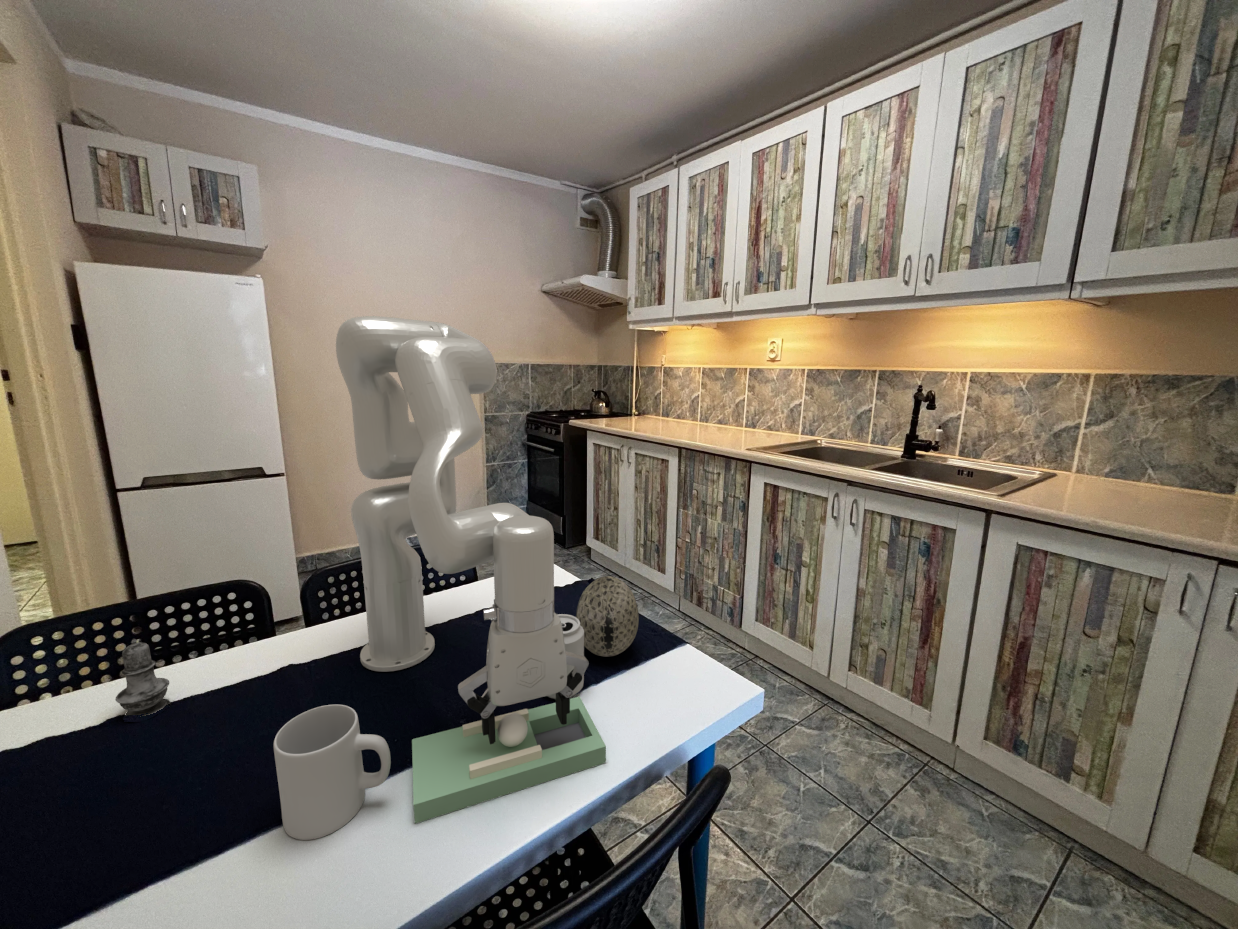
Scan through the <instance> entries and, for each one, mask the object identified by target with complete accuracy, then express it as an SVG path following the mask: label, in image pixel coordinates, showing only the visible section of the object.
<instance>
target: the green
mask: <svg viewBox="0 0 1238 929" xmlns="http://www.w3.org/2000/svg"><path fill="white" fill-rule="evenodd" d="M511 713H517V714H520V715H521V716H523V717H524V718H525V720H526V722H527V726H528V731H527V735H526V737H525V739H524V740H523V742H522V743H520V744H519V745H517V746H514V747H508V746H505V745H503V744H502V743H501V742H500V740H499V738H498V734H497V729H498V725H499V723H500V721H501V720H502V719H503V718H504V717H505V716H506V715H508V714H511ZM495 739H496V742H494V744H490V742H489V737H488V735H484V736H483V731H482V719H479V720H477V721H473V722H469V723H465V724H462V726H458V727H455V728H450V729H447V730H442V731H439V732H436V733H432V734H428V735H424V736H420V737H416V738H413V739H411V750H412V751H411V752H412V753H411V755H412V757H411V758H412V761H411V762H412V795H413V796H412V797H413V817H414V825H415V824H418V823H422V822H425V821H428V820H431V819H435V818H438V817H441V816H444V815H446V814H450V813H453V812H456V811H459V810H463V809H466V808H468V807H471V806H474V805H478V804H481V803H485V802H487V801H491V800H494V799H497V798H499V797H503V796H507V795H509V794H513V793H515V792H519V791H521V790H525V789H527V788H531V787H534V786H538V785H541V784H544V783H546V782H551V781H553V780H556V779H560V778H563V777H565V776H566V777H567V776H569V775H572V774H575V773H579V772H582V771H585V770H588V769H591V768H593V767H597V766H601V765H604V764H606V762H607V759H606V758H607V746H606V743H605V741H604V740H603V738H602V736H601V734H600V732H599V730H598V728H597V727H596V724H595V723H594V721H593V719H592V717H591V715H590V714H589V712H588V710H587V708H586V705H585V704H584V701H583V700H582V698H581V696H576V697H573V698H572V697H570V713H569V714H567V724H565V725H563V724H561V723H560V720H559V718H558V716H557V713H556V702H553V703H548V704H545V705H544V704H543V705H540V706H537V707H534V708H523V709H519V710H516V711H512V712H508V713H504V714H500V715H496V716H495Z"/></svg>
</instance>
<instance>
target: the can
mask: <svg viewBox="0 0 1238 929" xmlns="http://www.w3.org/2000/svg"><path fill="white" fill-rule="evenodd" d="M557 616H558V617H559V618H560V620H561V624H562V629H563V635H564V643H565V651H567V652H571V653H574V654H578V655H581V656H585V646H584V629H583V627H582V626H581V625H580V621H579V620H578V619H577V618H576V616H574V615H572V614H567V613H566V614H565V613H564V614H563V613H561V614H560V613H559V614H558V613H557ZM566 665H567V676H568V674H569V673H570V672H571V671H572V670H573V669H574V667H575V666H571V665H568V664H566ZM584 675H585V673H584V674H583V676H582V681H581V682H580V683H579V684H578V685H577V687H576V688H575V689H574V690H573V695H572V696H571V697H570V698H572V697H574V696H575V695H576V694H577V693H579V692H580V691H581V690H582V689H583V687H584V681H585V676H584ZM547 697H548V698H549V699H553V700H556V693H555V694H552V695H548V696H547Z"/></svg>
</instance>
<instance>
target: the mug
mask: <svg viewBox="0 0 1238 929" xmlns="http://www.w3.org/2000/svg"><path fill="white" fill-rule="evenodd" d="M364 750H373V751H375V752H376V753H377V754H378V757H379V760H380V769H379V771H375V772H367V771H365V770H364V765H363V764H364V763H363V754H362V751H364ZM273 753H274V761H275V767H276V768H275V769H276V776H277V782H278V784H277V785H278V791H279V799H280V800H279V801H280V809H281V810H280V811H281V819H282V826H283V829H284V831H285V833H286V834H287V835H288V836H290V837H291V838H293V839H296V840H299V841H309V840H310V841H311V840H316V839H321V838H323V837H326V836H328V835H330V834H332V833H335V832H336V831H338V830H340V829H341V828H342V827H344V826H345V825H347V824H348V823H349V822H350V821H351V820H352V819H353V818H355V817H356V815H357V814H358V813H359V811H360V809H361V808H362V806H363V804H364V801H365V799H366V798H365V797H366V789H367V790H368V789H372V788H377V787H380V785H382V784H384V783H385V781H387V779H388V776H389V774H390V769H391V764H392V761H391V759H392V758H391V751H390V748H389V744H388V743H387V741H386V739H385V738H384V737H382V736H381V735H378V734H370V733H369V734H367V733H365V734H363V733H361V730H360V723H359V717H358V713H357V712H356V710H355V709H354V708H352V707H350V706H348V705H345V704H328V705H321V706H317V707H314V708H311V709H308V710H307V711H304V712H302V713H300V714H298V715H296V716H295V717H293V718H291V719H290V720H288V721H287V722H286V723H285V724H284V725H283V726H282V727H281V728H280V729H279V730H278V731H277V733H276V735H275V738H274V740H273Z"/></svg>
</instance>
